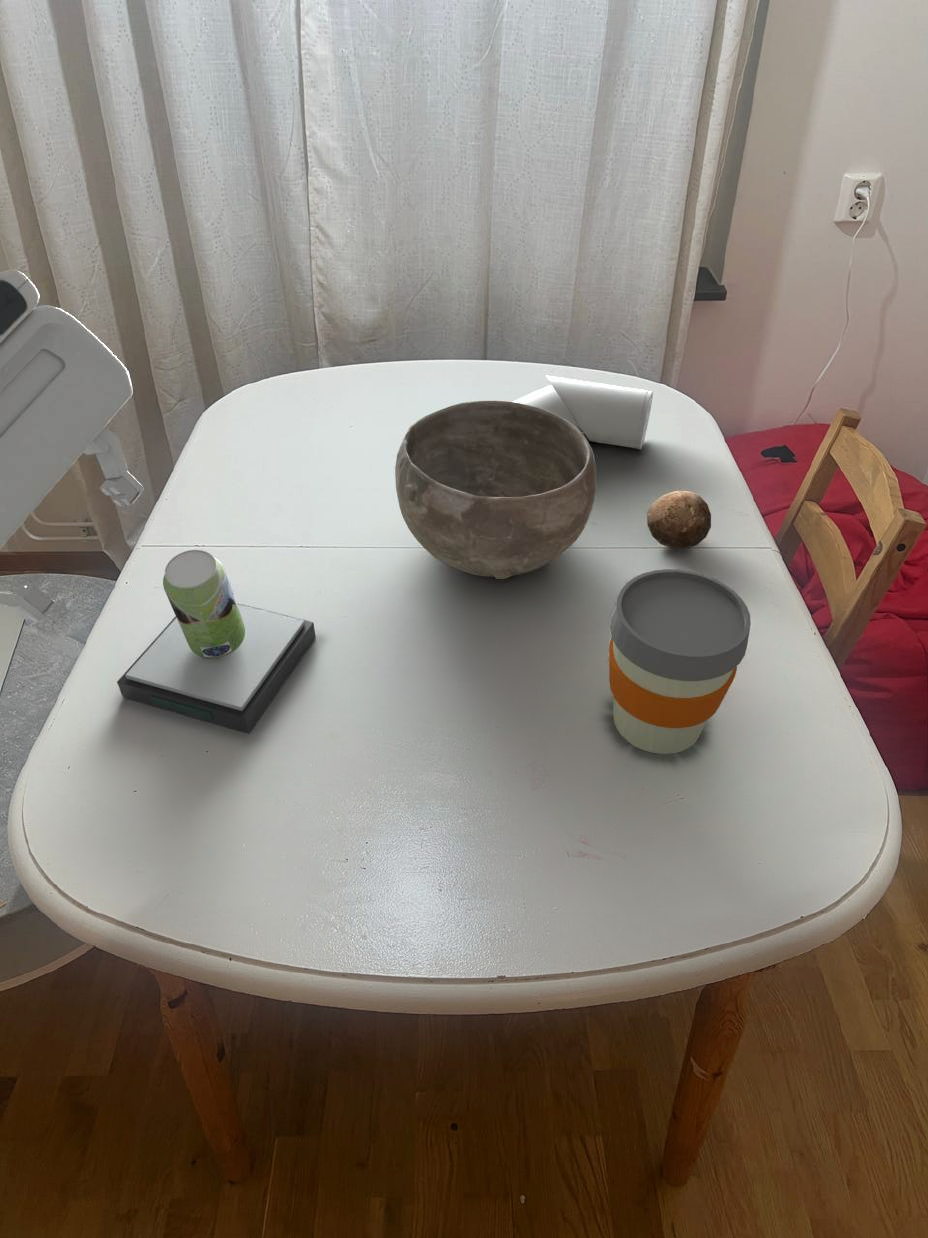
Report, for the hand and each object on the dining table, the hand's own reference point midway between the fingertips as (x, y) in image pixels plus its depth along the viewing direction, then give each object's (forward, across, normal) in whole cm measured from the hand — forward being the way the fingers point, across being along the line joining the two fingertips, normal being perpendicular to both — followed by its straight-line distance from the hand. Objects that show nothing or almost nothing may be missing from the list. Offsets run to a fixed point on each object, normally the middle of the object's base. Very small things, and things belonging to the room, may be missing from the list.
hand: (89, 553), depth 53 cm
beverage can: (+27, +10, +25) cm, 38 cm away
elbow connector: (+54, +68, +15) cm, 88 cm away
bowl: (+45, +40, +14) cm, 62 cm away
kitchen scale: (+29, +10, +26) cm, 41 cm away
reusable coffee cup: (+51, +21, -13) cm, 57 cm away
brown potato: (+57, +52, -4) cm, 77 cm away
